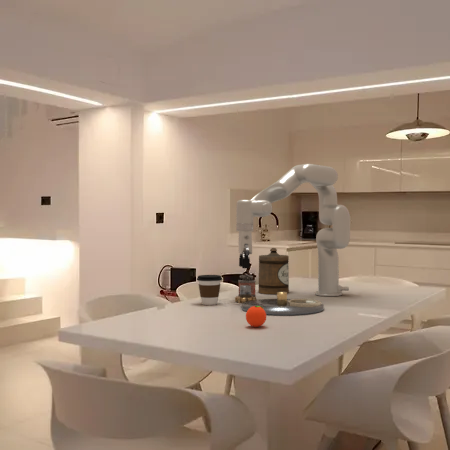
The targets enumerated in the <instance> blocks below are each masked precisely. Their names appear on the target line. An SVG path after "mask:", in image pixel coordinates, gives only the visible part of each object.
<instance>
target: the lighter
mask: <svg viewBox="0 0 450 450" xmlns="http://www.w3.org/2000/svg"><path fill="white" fill-rule="evenodd" d="M241 279H242V280H241ZM253 279H254V276H253V275H249V274H247V275H242V274H241V275H239V279H238V295H237V296H240V285H251V296H253V297H256V298H257V296H256V283H257V281H256V280H255V279H254V280H253Z"/></svg>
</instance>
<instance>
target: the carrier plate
mask: <svg viewBox="0 0 450 450" xmlns="http://www.w3.org/2000/svg"><path fill="white" fill-rule="evenodd" d="M253 306H262V307H263V309H264V311H265V313H266V316H273V317H274V316H277V317H278V316H280V317H282V316H283V317H284V316H286V317H287V316H289V317H290V316H291V317H292V316H306V315H307V316H308V315H314V314H318V313H322V312H324V309H325V306H324V304H323V303H322V301H320V300H319V299H309V298H288V293H287V292H277V295H276V298H270V299H269V298H267V299H266V298H264V299H256V300H253V301H248V302H244V303H240V310H241V311H243V312H246V313H247V311H248V309H249V308H251V307H253Z"/></svg>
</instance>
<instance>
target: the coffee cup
mask: <svg viewBox="0 0 450 450" xmlns="http://www.w3.org/2000/svg"><path fill="white" fill-rule="evenodd" d="M196 280H197V282H198V289H199V295H200V300H201V304H202V305H204V306H214V305H215V306H216V305H217V304H218V301H219V296H220V291H221V290H220V289H221V281H222V280H223V278H222V275H220V274H200V275H198V276H197V278H196Z"/></svg>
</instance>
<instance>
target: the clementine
mask: <svg viewBox="0 0 450 450" xmlns="http://www.w3.org/2000/svg"><path fill="white" fill-rule="evenodd" d="M245 320H246V322H247V324H248V325H249V326H250V327H253V328H259V327H261V326H263V325H264V324H265V322H266V320H267V315H266V313H265V311H264V309H263V307H262V306H253V307H251V308H249V309H248V311H247V312H246V313H245Z"/></svg>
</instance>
